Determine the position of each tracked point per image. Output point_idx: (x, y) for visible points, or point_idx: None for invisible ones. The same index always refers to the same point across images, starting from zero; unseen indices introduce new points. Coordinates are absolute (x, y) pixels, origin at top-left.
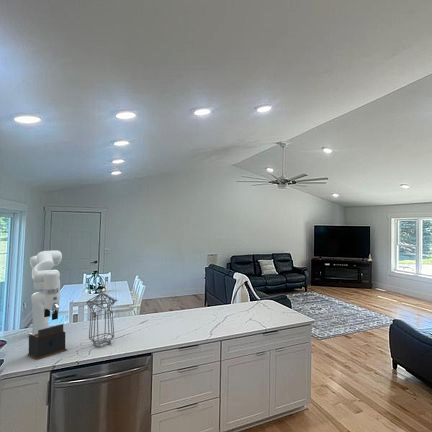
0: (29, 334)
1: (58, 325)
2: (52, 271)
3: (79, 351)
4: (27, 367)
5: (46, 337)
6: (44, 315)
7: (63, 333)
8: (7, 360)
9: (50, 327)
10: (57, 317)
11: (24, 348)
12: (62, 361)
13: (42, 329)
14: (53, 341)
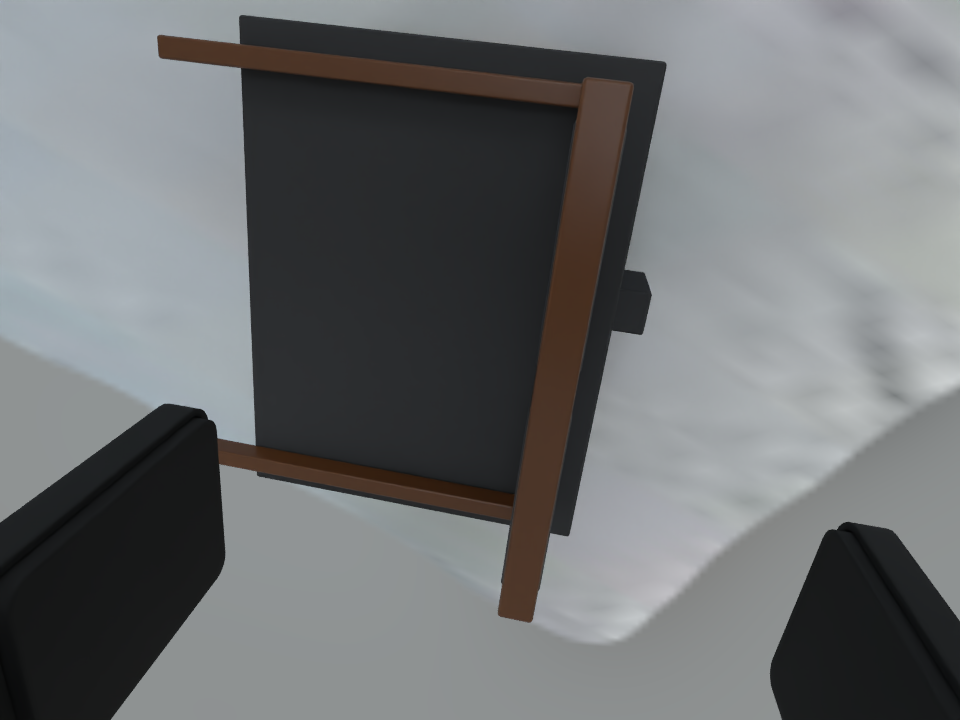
0: (221, 463)
1: (602, 231)
2: None
3: (896, 3)
4: (679, 544)
5: (591, 424)
6: (171, 624)
7: (656, 112)
8: (323, 499)
9: (567, 422)
10: (912, 580)
11: (105, 254)
12: (940, 339)
13: (535, 563)
14: (648, 308)
